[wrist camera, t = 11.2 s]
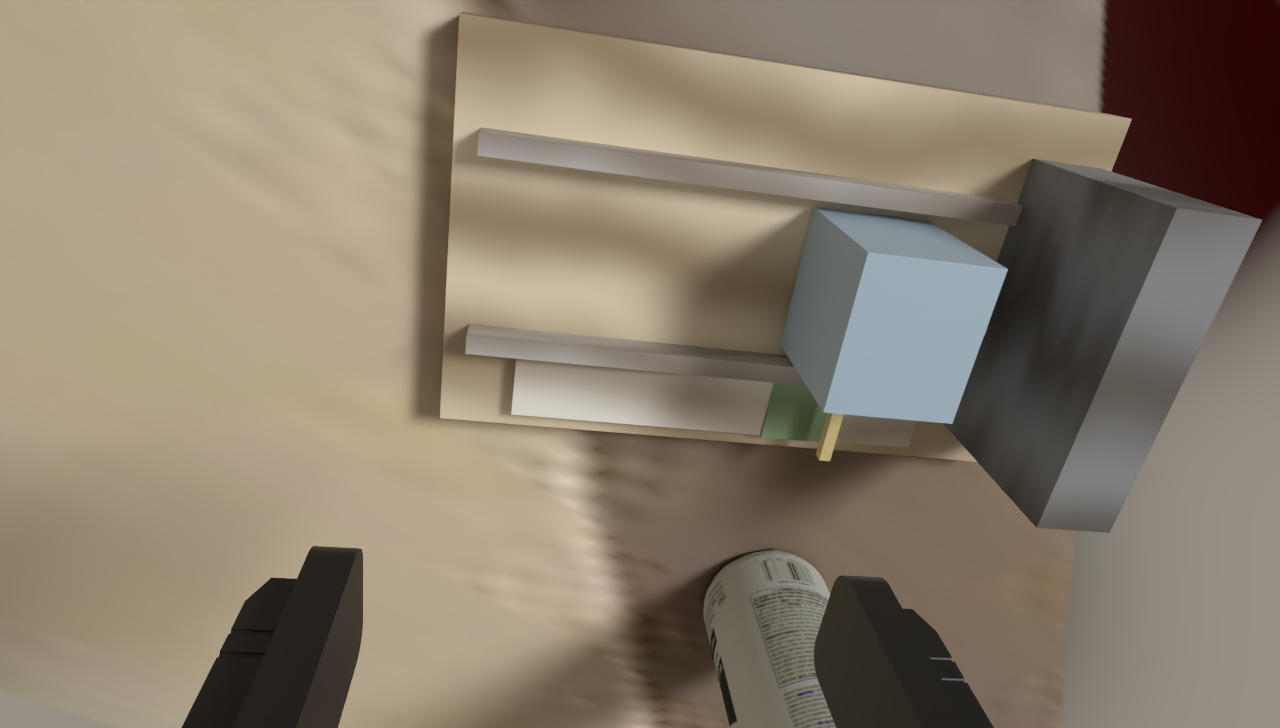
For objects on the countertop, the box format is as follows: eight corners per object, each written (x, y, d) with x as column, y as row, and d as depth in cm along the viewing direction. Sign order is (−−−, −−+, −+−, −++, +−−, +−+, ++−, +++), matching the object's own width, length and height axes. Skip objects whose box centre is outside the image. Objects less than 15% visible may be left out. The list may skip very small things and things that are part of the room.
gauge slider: (813, 207, 31) (868, 252, 25) (965, 226, 32) (1048, 274, 26) (758, 433, 35) (795, 513, 30) (893, 444, 36) (952, 523, 31)
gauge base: (463, 12, 28) (423, 20, 20) (1107, 113, 32) (1307, 157, 23) (444, 401, 35) (407, 534, 26) (980, 446, 39) (1100, 575, 30)
